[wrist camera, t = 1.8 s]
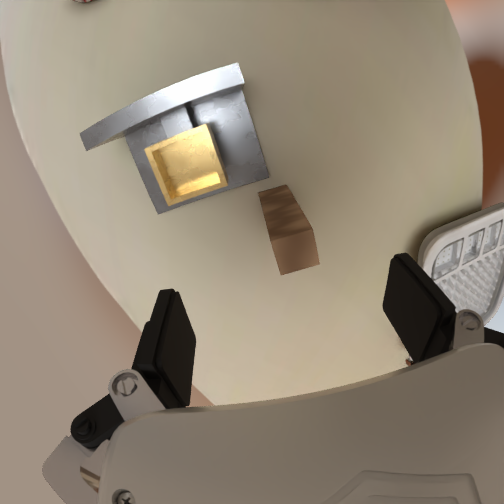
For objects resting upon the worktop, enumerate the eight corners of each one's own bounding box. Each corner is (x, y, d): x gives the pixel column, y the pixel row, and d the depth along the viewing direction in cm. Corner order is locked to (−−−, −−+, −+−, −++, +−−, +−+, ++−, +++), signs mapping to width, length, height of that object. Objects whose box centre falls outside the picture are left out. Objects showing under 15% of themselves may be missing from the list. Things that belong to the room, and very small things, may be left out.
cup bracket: (236, 77, 28) (237, 62, 18) (268, 175, 35) (282, 205, 25) (123, 122, 30) (79, 133, 20) (160, 211, 37) (135, 252, 27)
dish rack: (396, 347, 59) (407, 371, 52) (400, 220, 40) (425, 244, 33) (482, 302, 55) (496, 320, 48) (503, 183, 37) (528, 197, 30)
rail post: (286, 184, 36) (312, 228, 24) (292, 210, 38) (319, 264, 26) (258, 192, 37) (270, 241, 25) (266, 217, 39) (280, 275, 27)
